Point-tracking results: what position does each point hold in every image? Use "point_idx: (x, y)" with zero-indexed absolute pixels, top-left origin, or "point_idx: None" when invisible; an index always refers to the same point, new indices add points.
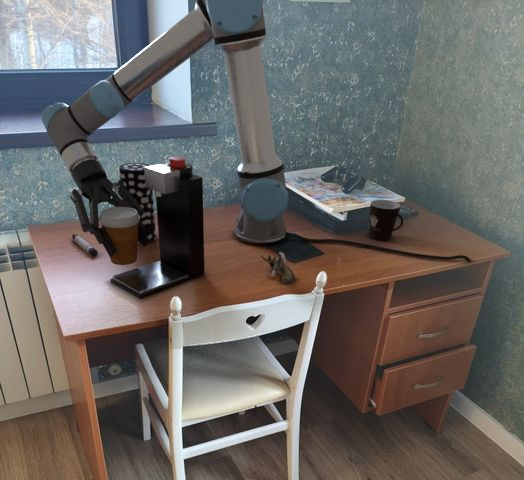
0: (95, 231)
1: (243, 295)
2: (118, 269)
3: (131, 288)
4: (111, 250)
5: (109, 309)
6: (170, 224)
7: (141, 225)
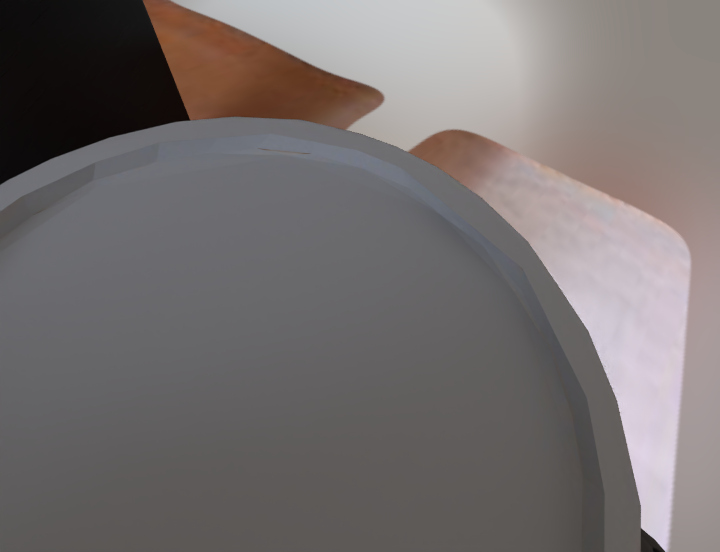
0: None
1: (223, 50)
2: None
3: None
4: None
5: (542, 249)
6: (10, 68)
7: None
